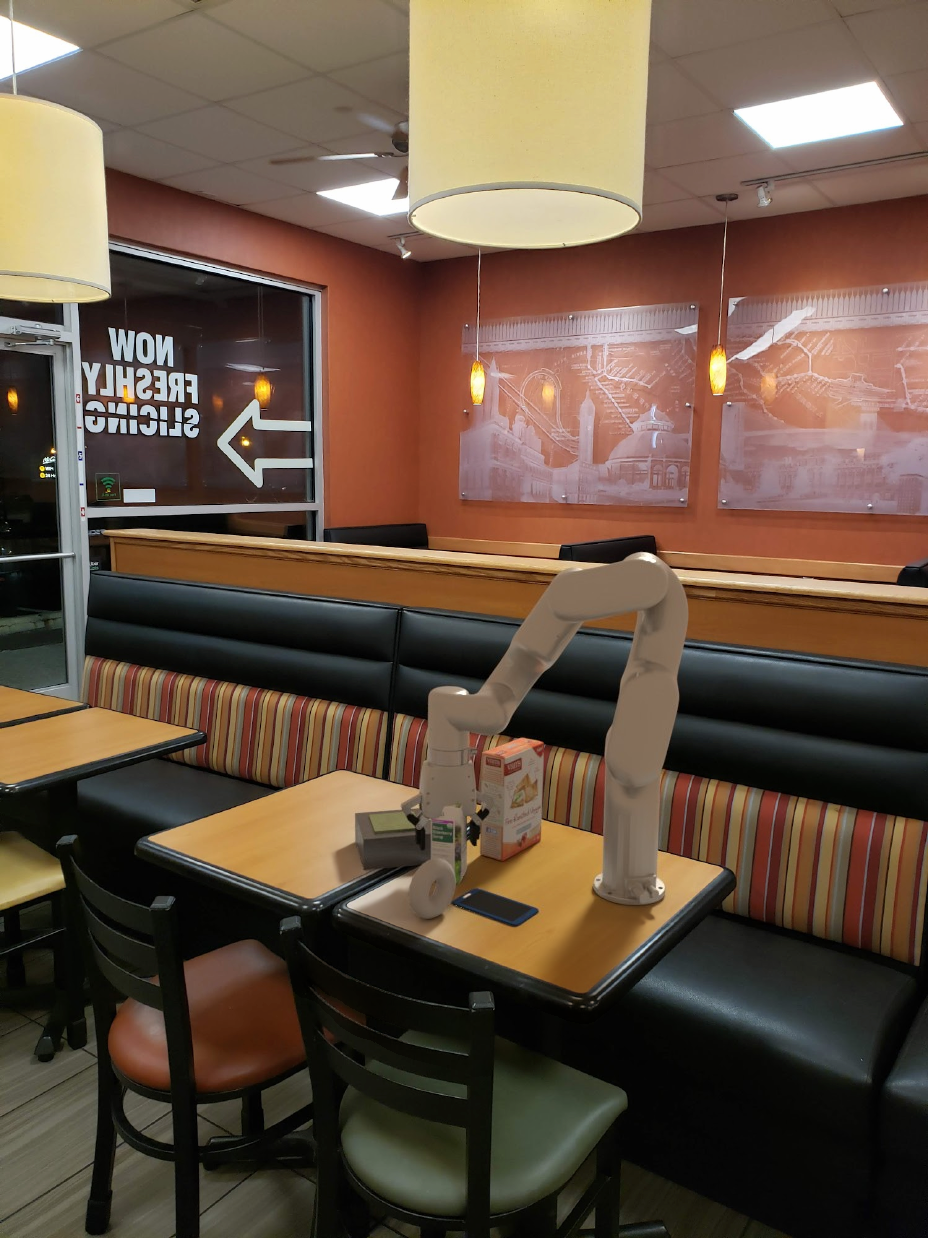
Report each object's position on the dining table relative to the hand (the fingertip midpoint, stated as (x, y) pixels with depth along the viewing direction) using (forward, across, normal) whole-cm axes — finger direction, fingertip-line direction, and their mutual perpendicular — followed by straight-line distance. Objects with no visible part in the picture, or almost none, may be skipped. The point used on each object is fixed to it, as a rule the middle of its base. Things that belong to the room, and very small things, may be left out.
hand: (447, 845), depth 166 cm
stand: (+6, +8, -13) cm, 16 cm away
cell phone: (+6, -5, +14) cm, 16 cm away
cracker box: (+6, -15, -10) cm, 19 cm away
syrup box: (+6, 0, 0) cm, 6 cm away
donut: (+6, +6, +15) cm, 17 cm away
